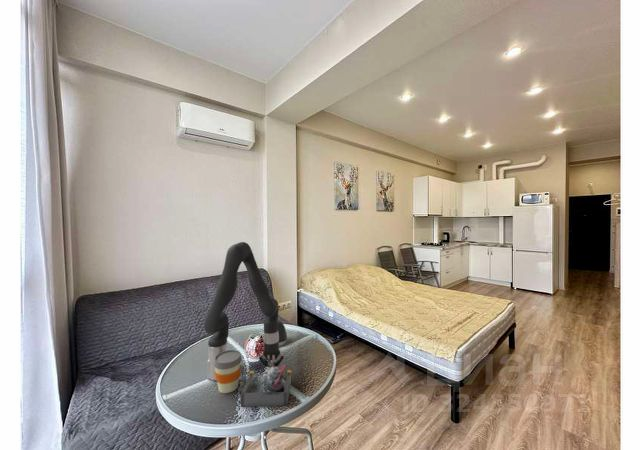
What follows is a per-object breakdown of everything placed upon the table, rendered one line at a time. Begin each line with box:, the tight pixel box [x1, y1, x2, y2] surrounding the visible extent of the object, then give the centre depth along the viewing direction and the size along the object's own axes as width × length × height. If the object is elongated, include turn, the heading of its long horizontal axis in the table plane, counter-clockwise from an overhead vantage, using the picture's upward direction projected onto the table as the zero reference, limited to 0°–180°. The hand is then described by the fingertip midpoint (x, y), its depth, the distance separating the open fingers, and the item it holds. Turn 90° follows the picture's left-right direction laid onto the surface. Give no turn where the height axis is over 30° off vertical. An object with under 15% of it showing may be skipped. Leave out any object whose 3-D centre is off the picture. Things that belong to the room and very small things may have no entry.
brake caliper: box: [263, 364, 287, 391], centre depth 122 cm, size 11×11×12 cm
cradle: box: [240, 369, 292, 408], centre depth 118 cm, size 20×17×6 cm
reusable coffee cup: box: [214, 349, 243, 394], centre depth 123 cm, size 13×13×15 cm
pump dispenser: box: [278, 320, 288, 347], centre depth 166 cm, size 10×10×15 cm
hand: (272, 373), depth 128 cm, fingers closed
